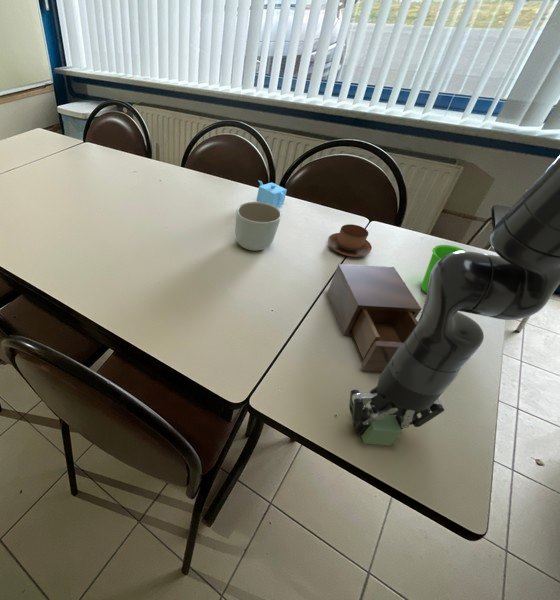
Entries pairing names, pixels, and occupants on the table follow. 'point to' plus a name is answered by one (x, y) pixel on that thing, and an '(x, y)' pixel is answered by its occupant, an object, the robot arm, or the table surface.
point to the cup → (437, 254)
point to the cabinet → (367, 293)
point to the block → (382, 431)
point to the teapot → (271, 194)
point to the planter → (256, 225)
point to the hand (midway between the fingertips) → (373, 431)
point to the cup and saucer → (350, 241)
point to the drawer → (381, 335)
